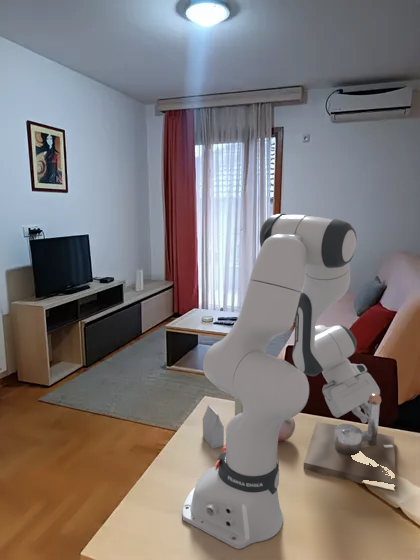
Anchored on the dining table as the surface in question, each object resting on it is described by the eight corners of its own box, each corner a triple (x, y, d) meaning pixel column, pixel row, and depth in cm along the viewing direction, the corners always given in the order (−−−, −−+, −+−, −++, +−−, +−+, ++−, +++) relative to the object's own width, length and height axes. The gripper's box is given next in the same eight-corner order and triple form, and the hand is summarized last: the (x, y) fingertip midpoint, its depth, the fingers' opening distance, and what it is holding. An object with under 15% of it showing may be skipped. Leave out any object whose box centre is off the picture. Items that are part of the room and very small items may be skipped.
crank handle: (344, 456, 109) (347, 406, 106) (329, 442, 115) (331, 394, 112) (385, 447, 112) (389, 398, 110) (368, 434, 119) (371, 387, 116)
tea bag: (212, 448, 117) (211, 416, 115) (202, 436, 123) (202, 405, 121) (223, 445, 118) (223, 413, 116) (214, 433, 124) (213, 403, 122)
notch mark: (384, 447, 113) (384, 446, 113) (383, 445, 114) (383, 444, 114) (393, 447, 113) (393, 446, 113) (391, 445, 114) (391, 444, 114)
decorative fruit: (301, 441, 120) (302, 409, 118) (283, 452, 115) (284, 419, 113) (275, 428, 127) (276, 398, 125) (258, 438, 121) (258, 407, 119)
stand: (303, 469, 107) (303, 462, 107) (316, 427, 127) (316, 421, 127) (395, 491, 99) (395, 484, 98) (393, 442, 119) (394, 436, 118)
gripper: (327, 382, 113) (355, 430, 108) (367, 363, 125) (395, 405, 120) (312, 391, 117) (339, 437, 112) (353, 372, 130) (379, 412, 124)
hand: (368, 420), depth 116 cm, fingers closed
